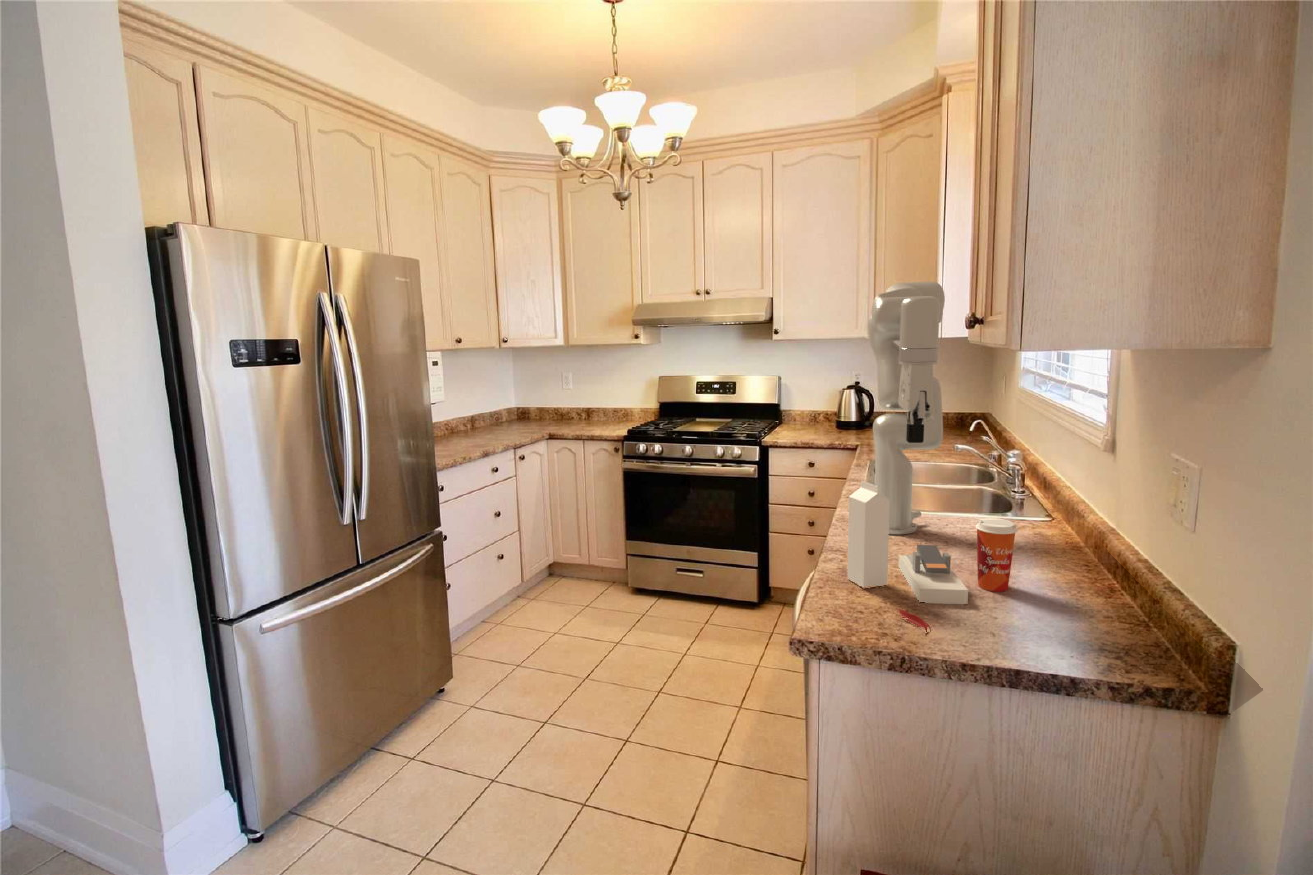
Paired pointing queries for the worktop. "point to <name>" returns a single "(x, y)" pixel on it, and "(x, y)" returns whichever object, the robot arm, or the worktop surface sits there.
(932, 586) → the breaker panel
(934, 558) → the breaker paddle
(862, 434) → the worktop surface
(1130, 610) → the worktop surface
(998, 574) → the paper cup
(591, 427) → the worktop surface
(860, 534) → the milk
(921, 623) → the cayenne pepper
